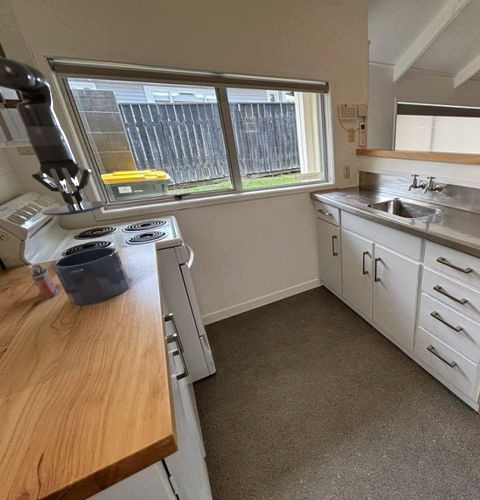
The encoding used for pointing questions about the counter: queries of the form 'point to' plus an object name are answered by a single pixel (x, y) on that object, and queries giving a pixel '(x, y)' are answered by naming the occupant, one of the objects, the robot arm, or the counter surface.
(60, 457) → the counter surface
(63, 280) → the pot
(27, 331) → the counter surface
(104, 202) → the pot lid
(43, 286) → the lighter
